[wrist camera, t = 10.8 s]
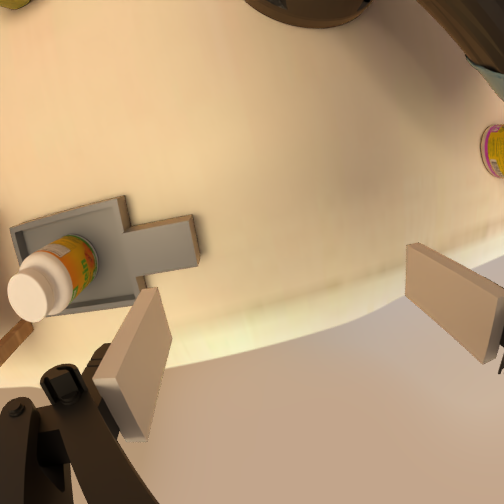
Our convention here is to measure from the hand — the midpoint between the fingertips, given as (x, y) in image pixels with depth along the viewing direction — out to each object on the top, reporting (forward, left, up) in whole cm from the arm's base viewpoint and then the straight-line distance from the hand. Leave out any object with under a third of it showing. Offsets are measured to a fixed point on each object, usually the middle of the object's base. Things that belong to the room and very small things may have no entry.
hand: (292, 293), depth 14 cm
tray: (+15, 0, -16) cm, 22 cm away
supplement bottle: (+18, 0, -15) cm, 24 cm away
